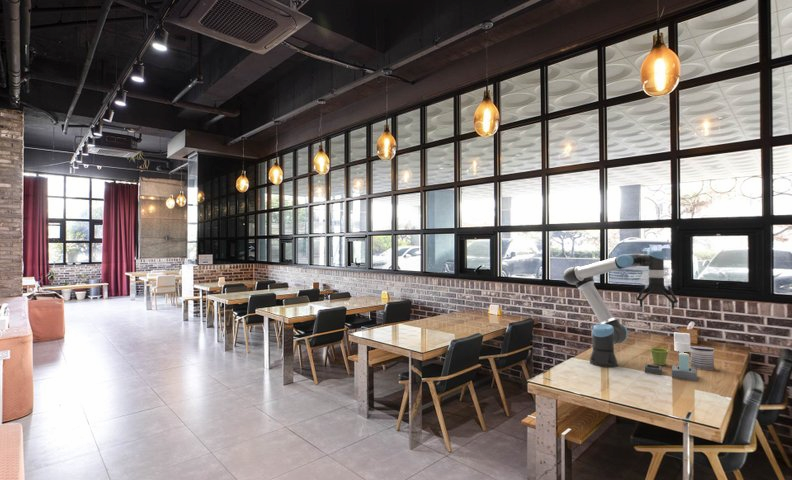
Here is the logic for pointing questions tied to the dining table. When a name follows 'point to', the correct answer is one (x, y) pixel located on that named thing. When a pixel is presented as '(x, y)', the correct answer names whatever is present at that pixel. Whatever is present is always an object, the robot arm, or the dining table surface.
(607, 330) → the robot arm
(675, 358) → the dining table surface
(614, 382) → the dining table surface
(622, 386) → the dining table surface
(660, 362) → the plant pot
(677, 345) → the cylinder with rectangular tab
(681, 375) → the port block
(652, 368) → the holster
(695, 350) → the can
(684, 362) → the plug
